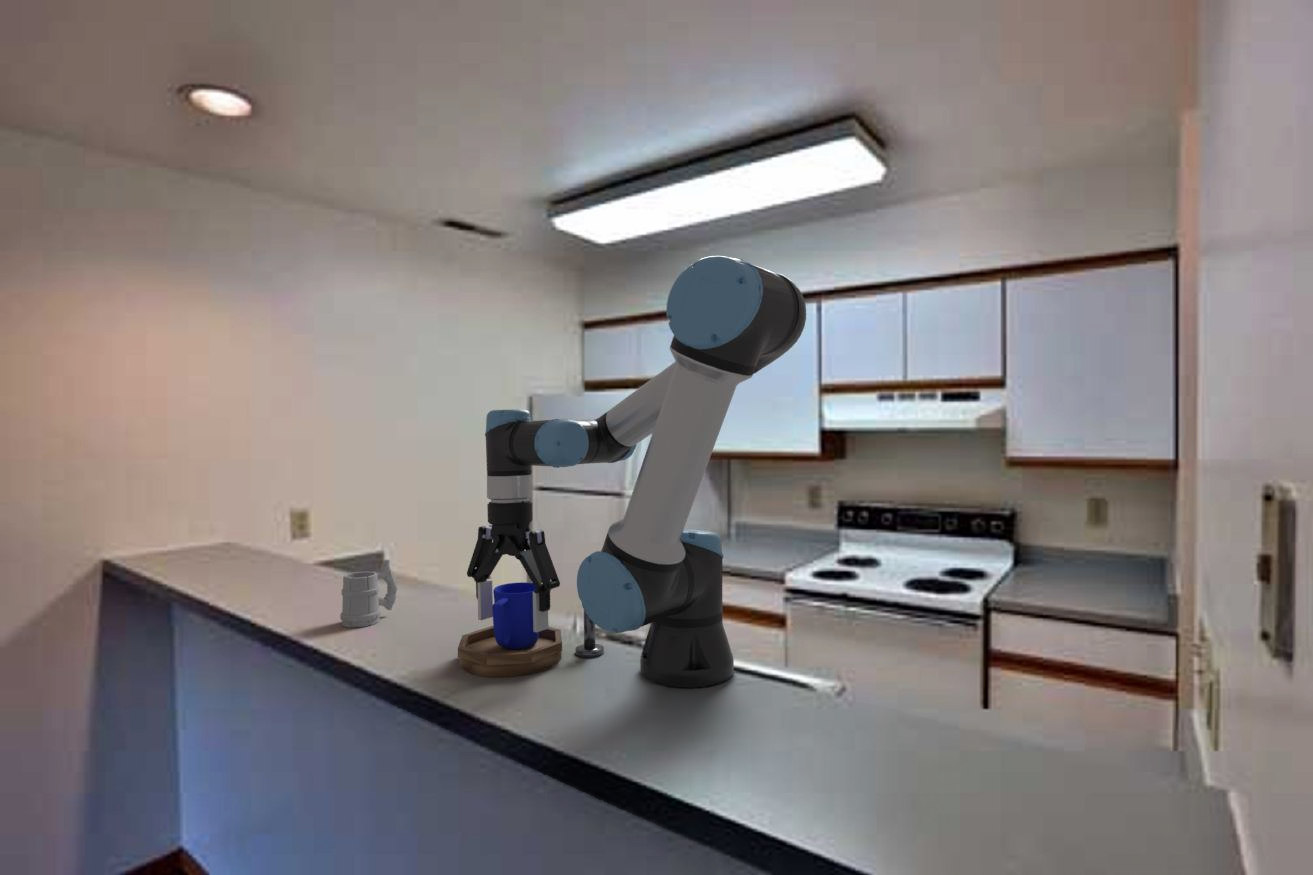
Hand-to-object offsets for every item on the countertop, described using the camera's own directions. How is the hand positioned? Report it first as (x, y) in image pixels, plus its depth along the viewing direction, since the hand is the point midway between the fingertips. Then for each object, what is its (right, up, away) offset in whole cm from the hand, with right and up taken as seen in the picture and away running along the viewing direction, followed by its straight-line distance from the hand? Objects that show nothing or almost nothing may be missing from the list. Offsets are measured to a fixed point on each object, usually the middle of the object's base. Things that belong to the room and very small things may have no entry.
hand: (512, 624), depth 118 cm
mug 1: (-34, -6, +25) cm, 43 cm away
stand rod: (+13, -6, +3) cm, 15 cm away
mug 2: (0, -4, 0) cm, 4 cm away
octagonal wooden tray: (0, -6, 0) cm, 6 cm away
